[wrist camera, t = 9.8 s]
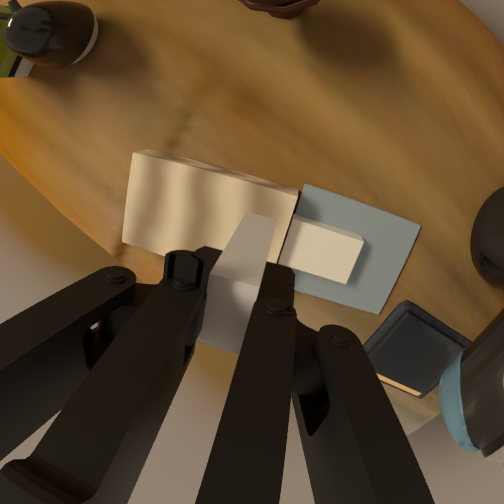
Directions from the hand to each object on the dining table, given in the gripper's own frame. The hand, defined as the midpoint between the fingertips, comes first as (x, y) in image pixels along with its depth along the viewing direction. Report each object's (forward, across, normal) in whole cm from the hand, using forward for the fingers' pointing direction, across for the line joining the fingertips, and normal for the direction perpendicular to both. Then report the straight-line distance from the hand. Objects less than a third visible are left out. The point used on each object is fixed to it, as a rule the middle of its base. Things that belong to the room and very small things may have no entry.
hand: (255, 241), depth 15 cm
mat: (+23, +11, -8) cm, 27 cm away
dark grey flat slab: (+24, +29, -22) cm, 43 cm away
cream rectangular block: (+23, +7, -8) cm, 25 cm away
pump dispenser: (+24, -33, +15) cm, 43 cm away
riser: (+23, -8, -7) cm, 26 cm away
